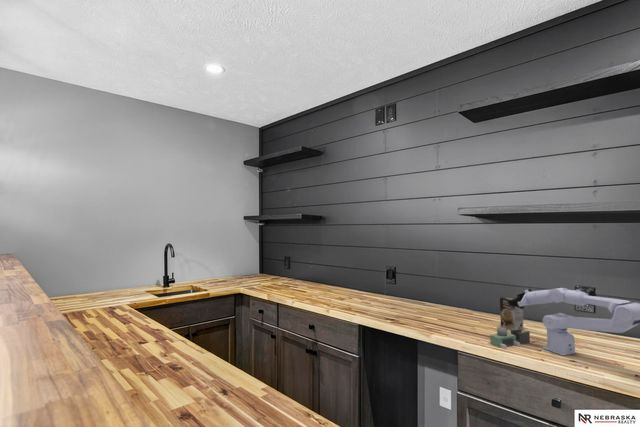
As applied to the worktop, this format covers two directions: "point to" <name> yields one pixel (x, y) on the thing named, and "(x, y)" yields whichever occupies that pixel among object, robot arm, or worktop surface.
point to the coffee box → (510, 315)
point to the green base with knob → (503, 338)
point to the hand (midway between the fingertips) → (513, 300)
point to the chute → (521, 336)
